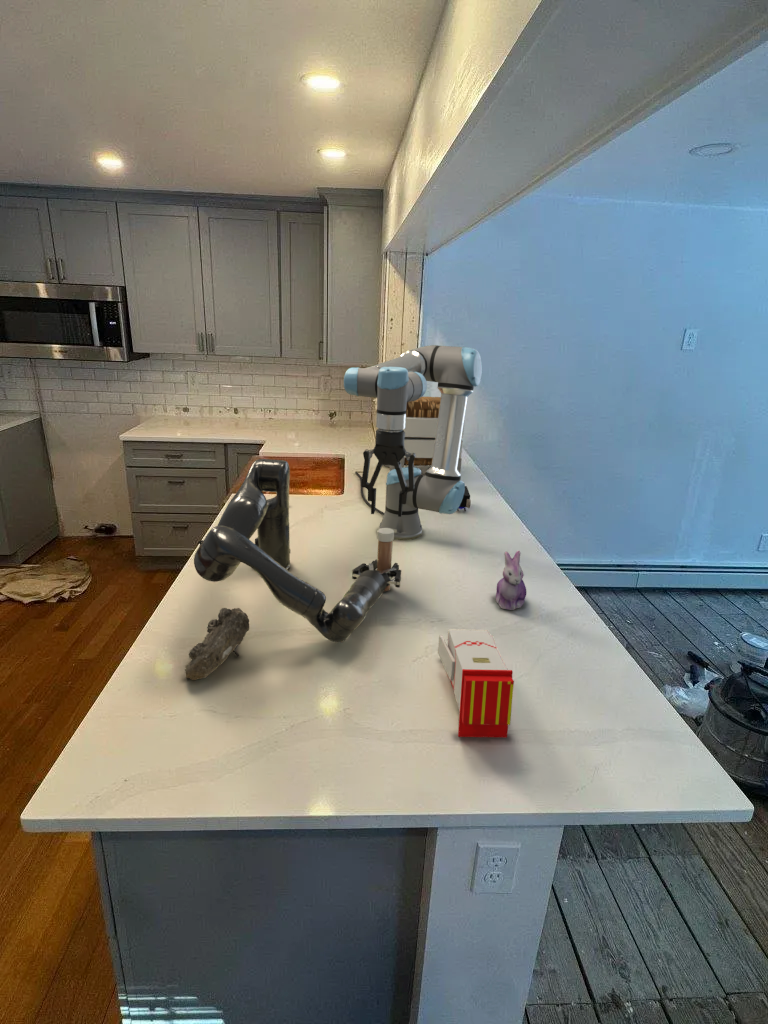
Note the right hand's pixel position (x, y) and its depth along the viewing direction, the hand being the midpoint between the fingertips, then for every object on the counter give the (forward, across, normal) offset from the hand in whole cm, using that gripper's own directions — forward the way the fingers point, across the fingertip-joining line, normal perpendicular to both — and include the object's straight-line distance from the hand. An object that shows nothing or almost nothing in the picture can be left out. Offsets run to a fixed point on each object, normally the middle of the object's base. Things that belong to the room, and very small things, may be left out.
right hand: (386, 513), depth 153 cm
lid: (+5, 0, 0) cm, 5 cm away
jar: (+23, 0, 0) cm, 23 cm away
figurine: (+23, -36, +1) cm, 42 cm away
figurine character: (+23, -20, -76) cm, 82 cm away
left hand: (+16, 0, -2) cm, 16 cm away
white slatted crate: (+23, 0, -122) cm, 125 cm away
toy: (+23, -24, +42) cm, 54 cm away
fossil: (+23, +31, +40) cm, 55 cm away
